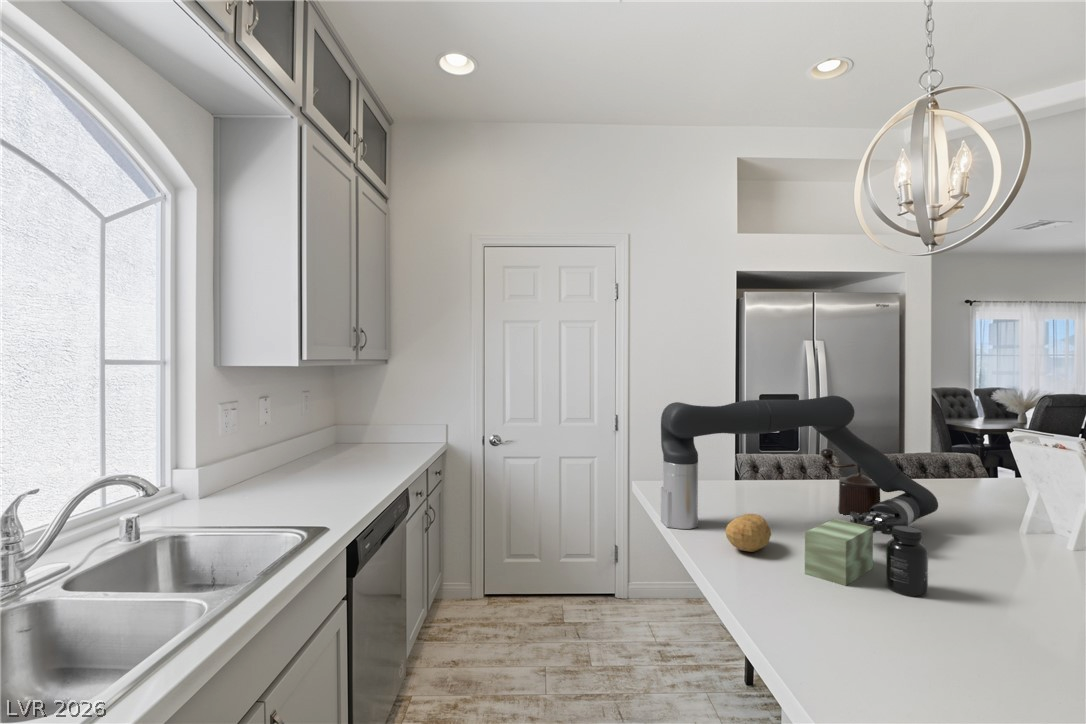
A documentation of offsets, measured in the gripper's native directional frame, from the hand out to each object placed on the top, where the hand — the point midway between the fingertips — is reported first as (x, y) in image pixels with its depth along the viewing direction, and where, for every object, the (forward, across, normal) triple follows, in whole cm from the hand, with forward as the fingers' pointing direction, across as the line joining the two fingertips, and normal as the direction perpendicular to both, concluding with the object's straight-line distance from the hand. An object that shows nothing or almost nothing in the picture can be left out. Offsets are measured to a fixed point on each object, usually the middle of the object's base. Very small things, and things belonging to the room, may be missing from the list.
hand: (863, 529), depth 123 cm
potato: (+16, -19, +6) cm, 26 cm away
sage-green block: (+13, 0, +6) cm, 14 cm away
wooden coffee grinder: (-38, -18, +7) cm, 43 cm away
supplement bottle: (+13, +12, +7) cm, 19 cm away
